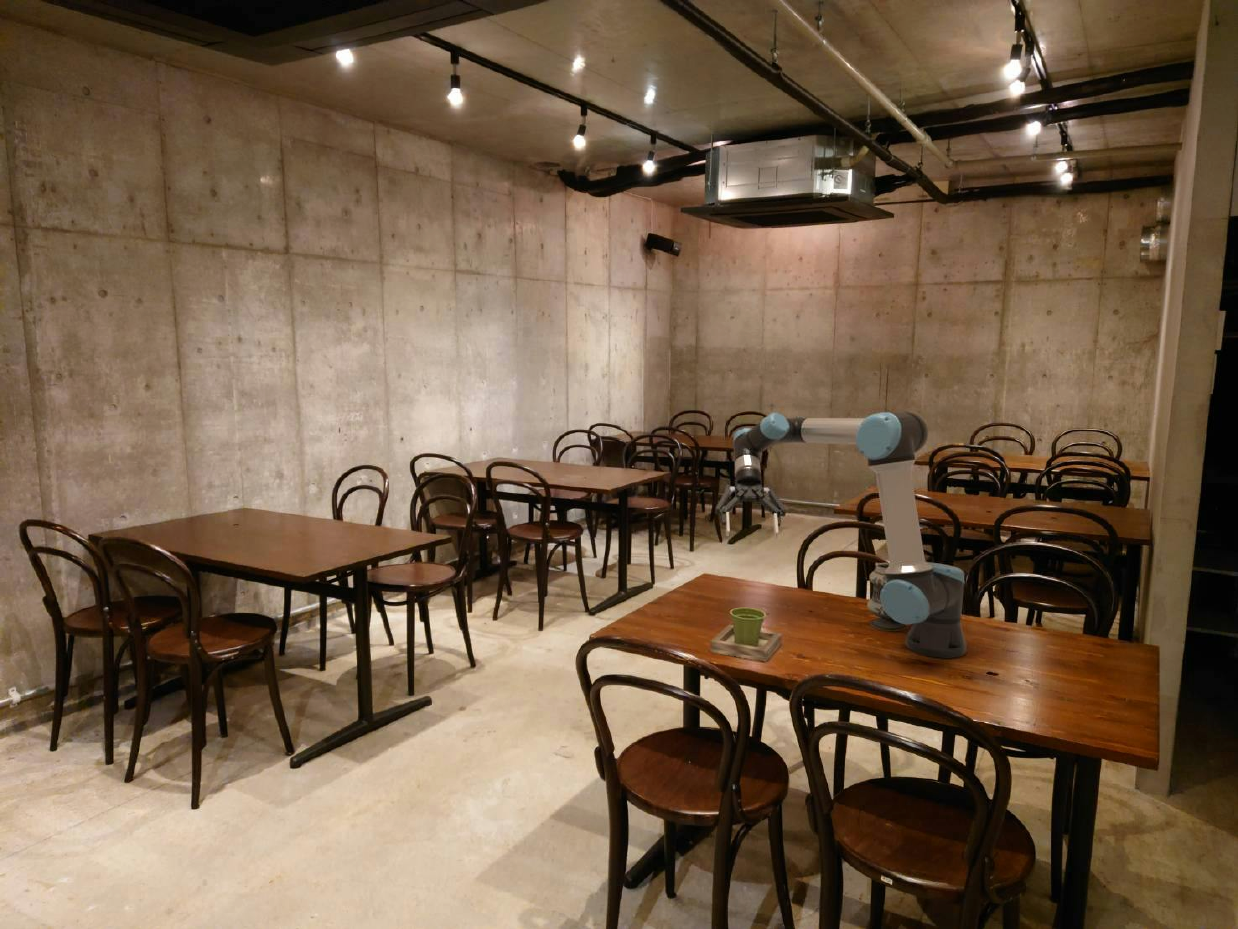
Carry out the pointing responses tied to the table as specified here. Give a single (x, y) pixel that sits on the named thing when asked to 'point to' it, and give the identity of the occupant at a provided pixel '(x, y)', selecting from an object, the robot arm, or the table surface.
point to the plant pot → (747, 625)
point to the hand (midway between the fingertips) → (752, 534)
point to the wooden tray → (762, 652)
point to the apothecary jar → (875, 603)
